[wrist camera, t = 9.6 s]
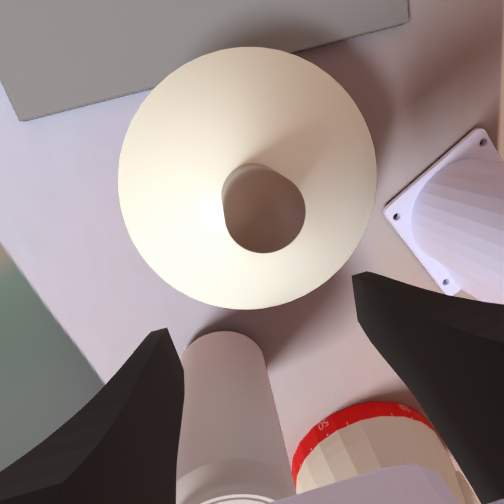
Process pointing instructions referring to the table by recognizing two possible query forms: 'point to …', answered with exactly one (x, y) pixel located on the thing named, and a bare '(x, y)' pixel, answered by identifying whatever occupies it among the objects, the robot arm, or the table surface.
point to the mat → (155, 41)
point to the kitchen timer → (372, 447)
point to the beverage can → (229, 426)
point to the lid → (247, 178)
